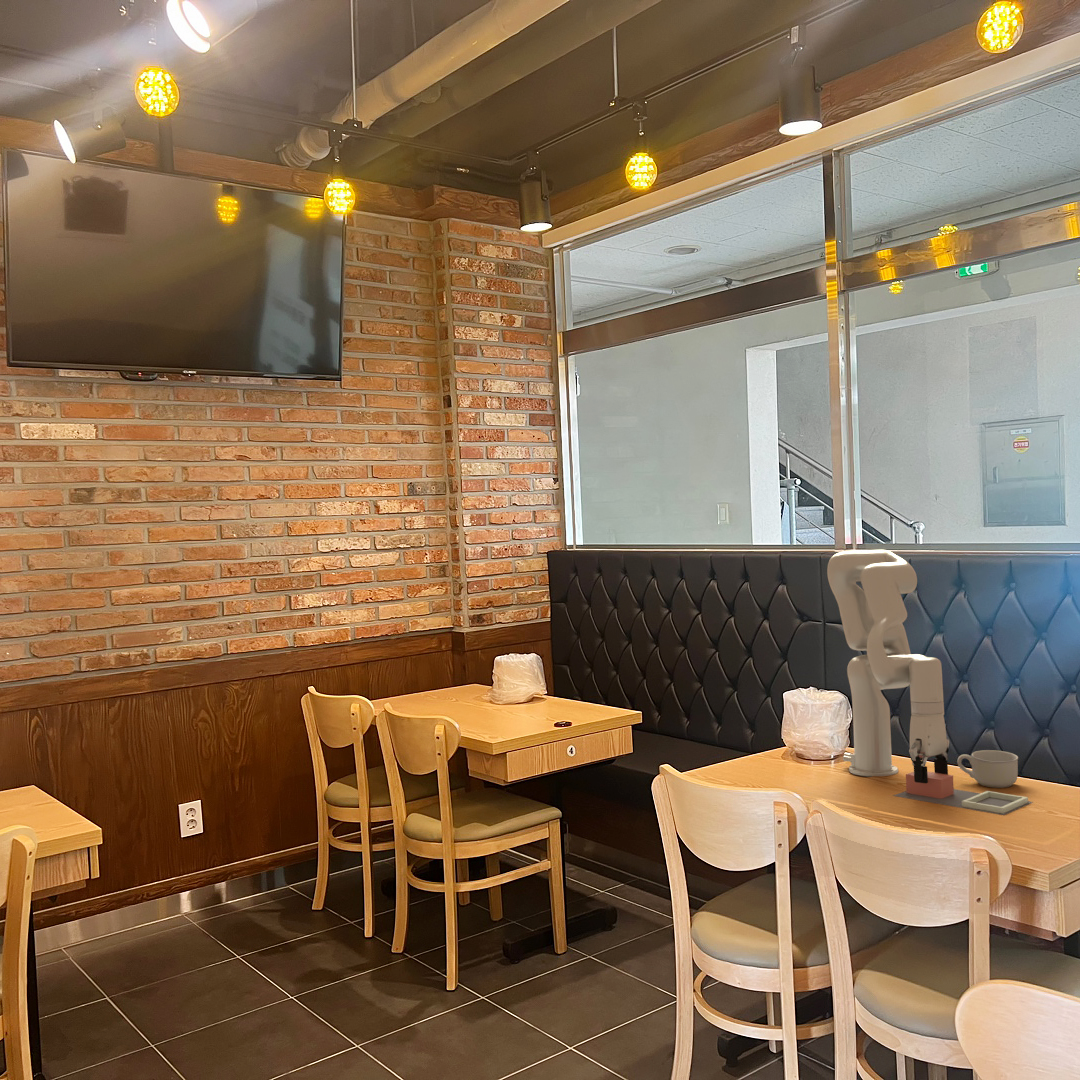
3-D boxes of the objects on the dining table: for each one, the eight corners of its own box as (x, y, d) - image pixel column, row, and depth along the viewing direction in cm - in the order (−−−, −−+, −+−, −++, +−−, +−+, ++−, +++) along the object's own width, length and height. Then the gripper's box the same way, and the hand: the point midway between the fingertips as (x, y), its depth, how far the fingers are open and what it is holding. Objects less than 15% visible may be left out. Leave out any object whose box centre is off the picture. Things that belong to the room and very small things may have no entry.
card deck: (906, 792, 251) (905, 774, 251) (918, 788, 255) (918, 770, 255) (941, 798, 245) (940, 779, 245) (953, 794, 249) (953, 775, 249)
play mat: (893, 797, 249) (893, 795, 249) (924, 786, 259) (924, 784, 259) (1004, 817, 229) (1004, 815, 229) (1033, 804, 239) (1033, 802, 239)
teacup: (1022, 783, 258) (1021, 752, 258) (1015, 793, 249) (1014, 760, 249) (963, 778, 266) (962, 747, 266) (954, 787, 257) (953, 755, 257)
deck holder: (962, 806, 237) (961, 801, 237) (987, 795, 246) (987, 790, 246) (1003, 813, 230) (1003, 808, 230) (1028, 802, 238) (1027, 797, 238)
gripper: (930, 703, 258) (934, 771, 258) (894, 711, 247) (898, 783, 246) (959, 705, 253) (963, 775, 252) (923, 713, 241) (928, 787, 241)
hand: (931, 779), depth 249 cm, fingers open, 9 cm apart
